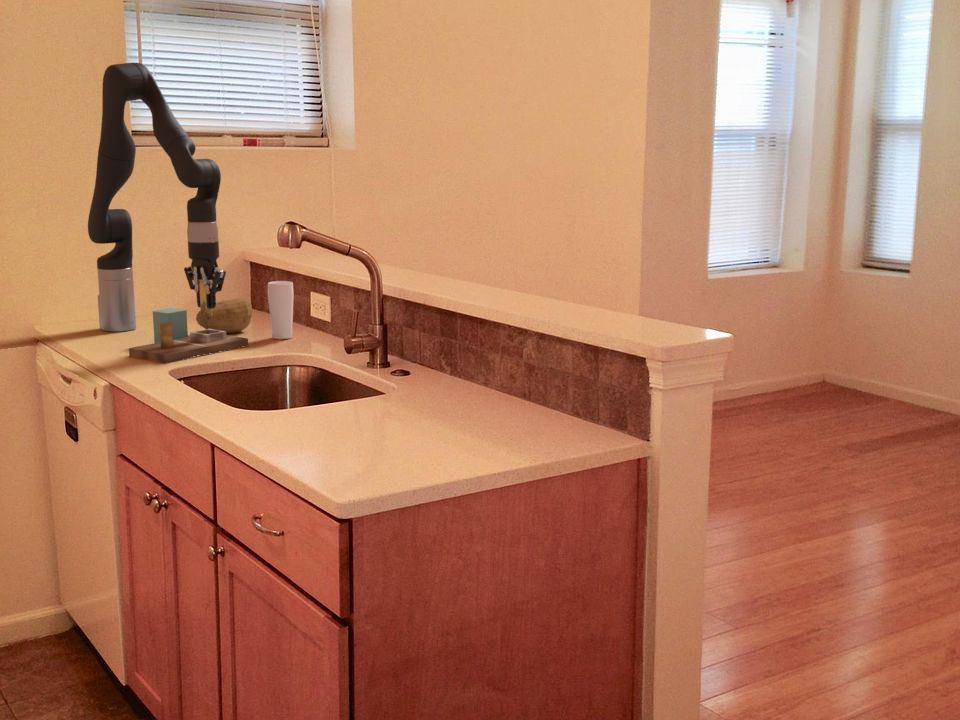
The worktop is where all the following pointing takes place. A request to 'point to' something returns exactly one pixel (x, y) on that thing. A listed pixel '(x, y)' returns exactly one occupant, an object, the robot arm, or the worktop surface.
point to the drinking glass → (281, 308)
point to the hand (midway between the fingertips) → (206, 307)
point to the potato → (228, 316)
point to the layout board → (186, 345)
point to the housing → (174, 317)
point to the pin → (204, 300)
